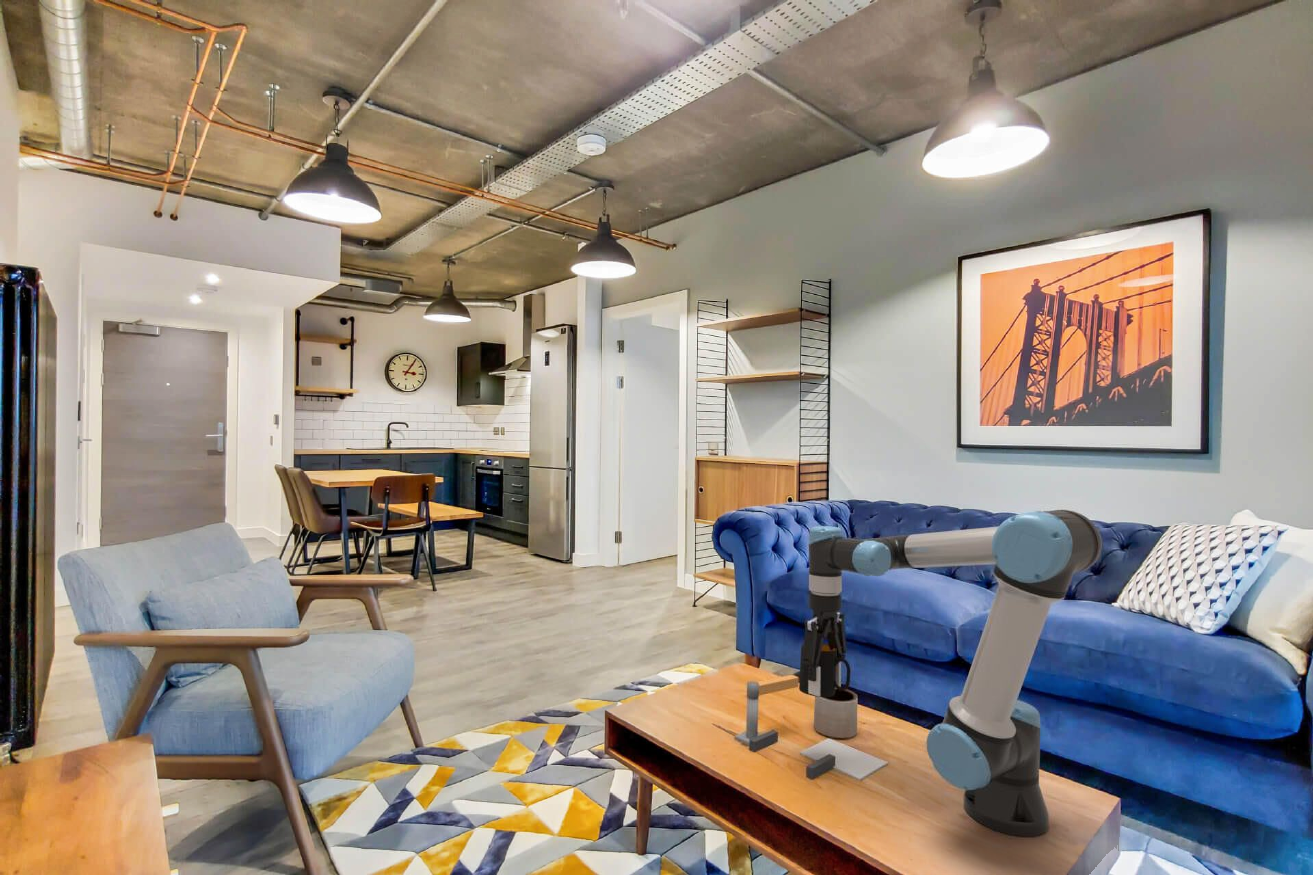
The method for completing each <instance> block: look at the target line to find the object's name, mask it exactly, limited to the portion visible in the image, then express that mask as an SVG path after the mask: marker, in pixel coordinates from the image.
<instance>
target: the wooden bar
mask: <svg viewBox="0 0 1313 875" xmlns="http://www.w3.org/2000/svg"><path fill="white" fill-rule="evenodd" d="M799 681H800V677H798V676H796V675H794V674H789V675H784V676H780V677H775V678H771V679H770V678H769V679H765V680H759V681H747V682H746V697H747V696H748V697H750V698H758V699H759V697H760V696H763V695H768V694H772V693H777V692H782V691H786V690H790V689H795V688H799Z"/></svg>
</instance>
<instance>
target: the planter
mask: <svg viewBox="0 0 1313 875" xmlns="http://www.w3.org/2000/svg"><path fill="white" fill-rule="evenodd" d="M813 728H814V730H816V732H818V733H819V734H820V735H822V736H824V737H828V738H830V739H836V740H845V739H851V738H853V737H854V736H856V735H857V733H858V694H856V693H855V692H854V691H853V690H850V689H848V688H847V689H846V690H838V689H836V688H835V695H834V696H831V697H817V696H814V711H813Z"/></svg>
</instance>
